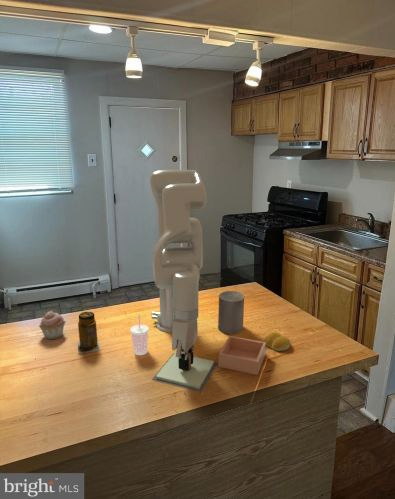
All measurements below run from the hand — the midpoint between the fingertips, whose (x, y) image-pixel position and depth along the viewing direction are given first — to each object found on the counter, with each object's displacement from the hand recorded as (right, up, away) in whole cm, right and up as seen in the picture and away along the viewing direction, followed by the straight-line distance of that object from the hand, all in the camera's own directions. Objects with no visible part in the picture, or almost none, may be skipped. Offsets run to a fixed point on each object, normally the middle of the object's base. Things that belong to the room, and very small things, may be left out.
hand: (186, 365), depth 116 cm
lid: (0, -2, +1) cm, 2 cm away
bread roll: (+32, +2, +17) cm, 36 cm away
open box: (+18, -1, +6) cm, 19 cm away
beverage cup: (-16, +1, +12) cm, 20 cm away
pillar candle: (+16, +5, +29) cm, 33 cm away
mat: (0, -2, 0) cm, 2 cm away
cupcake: (-50, +4, +23) cm, 55 cm away
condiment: (-35, +2, +15) cm, 38 cm away
